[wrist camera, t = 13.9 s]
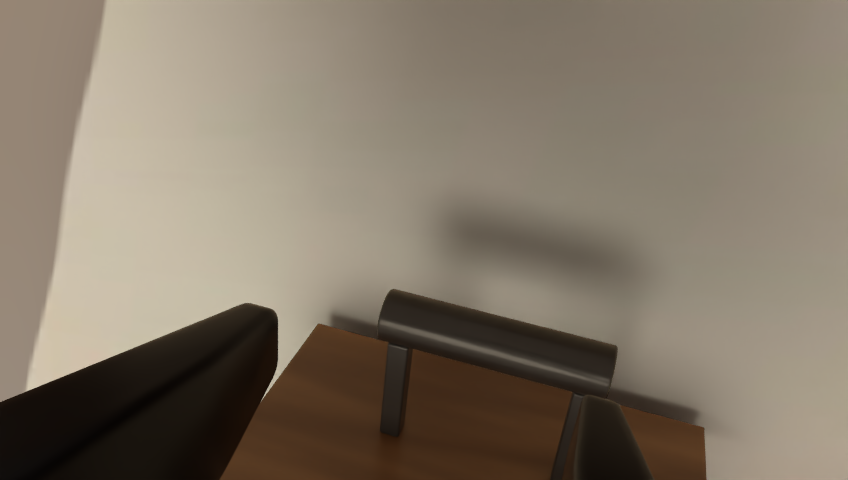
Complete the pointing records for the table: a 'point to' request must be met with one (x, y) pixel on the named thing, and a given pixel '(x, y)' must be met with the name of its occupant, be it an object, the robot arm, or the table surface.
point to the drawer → (443, 403)
